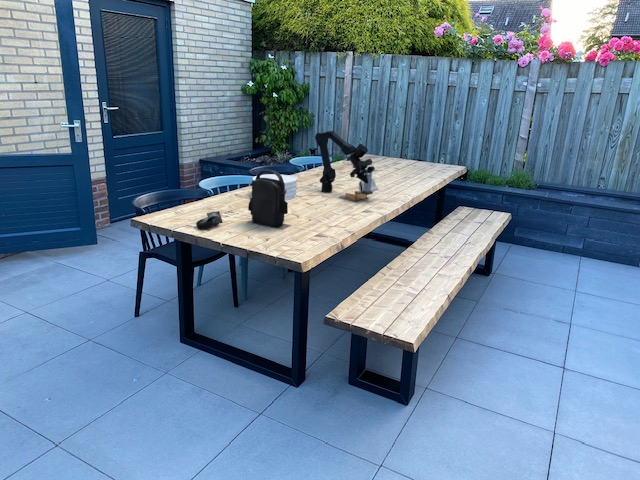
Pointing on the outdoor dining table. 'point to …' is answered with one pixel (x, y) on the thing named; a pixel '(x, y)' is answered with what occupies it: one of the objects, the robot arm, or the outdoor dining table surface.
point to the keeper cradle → (354, 196)
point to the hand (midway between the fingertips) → (369, 182)
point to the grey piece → (367, 184)
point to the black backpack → (268, 201)
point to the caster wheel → (210, 221)
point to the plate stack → (289, 184)
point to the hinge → (373, 186)
